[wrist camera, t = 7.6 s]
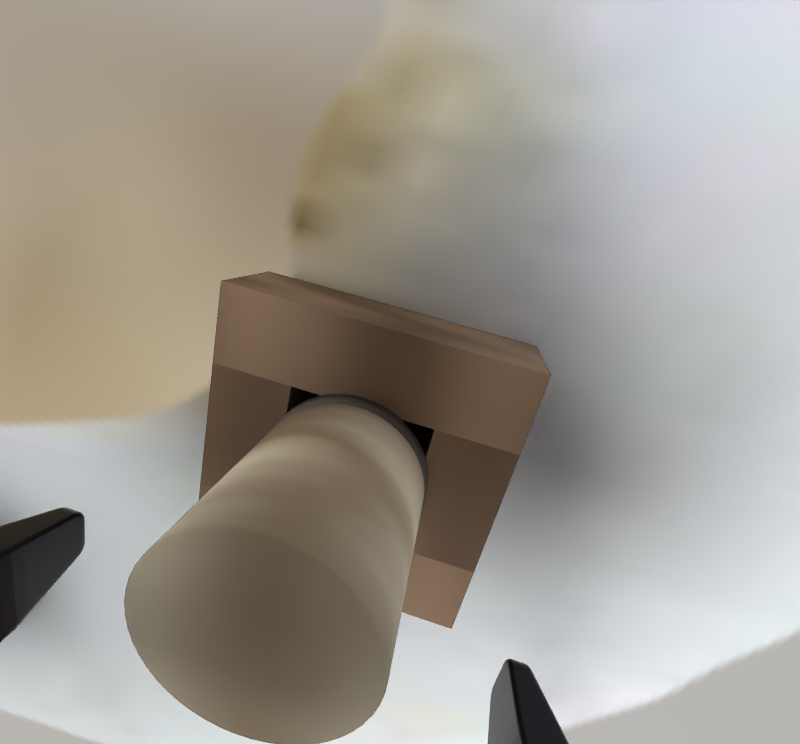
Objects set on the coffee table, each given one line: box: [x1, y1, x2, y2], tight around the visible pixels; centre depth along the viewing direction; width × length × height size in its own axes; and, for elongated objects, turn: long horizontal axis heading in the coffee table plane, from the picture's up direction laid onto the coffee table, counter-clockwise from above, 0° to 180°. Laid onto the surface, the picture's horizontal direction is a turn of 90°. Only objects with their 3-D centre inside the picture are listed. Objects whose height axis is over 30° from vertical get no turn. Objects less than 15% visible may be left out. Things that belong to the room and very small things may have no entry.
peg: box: [124, 394, 428, 744], centre depth 12 cm, size 5×5×9 cm
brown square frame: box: [199, 272, 551, 629], centre depth 15 cm, size 9×9×3 cm
